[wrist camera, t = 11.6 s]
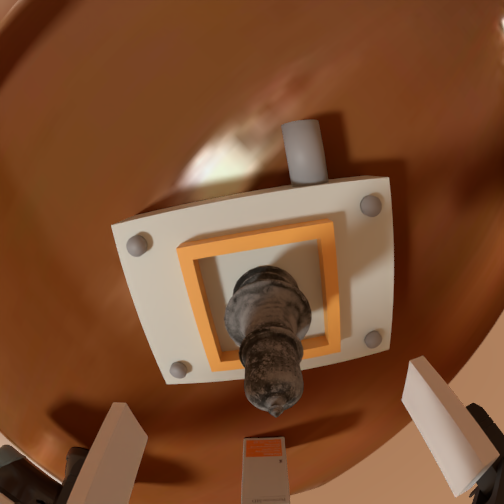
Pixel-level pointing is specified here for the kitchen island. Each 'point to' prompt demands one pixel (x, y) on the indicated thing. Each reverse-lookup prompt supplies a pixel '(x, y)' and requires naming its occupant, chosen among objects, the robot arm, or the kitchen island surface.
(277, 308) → the chess piece
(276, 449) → the skincare box
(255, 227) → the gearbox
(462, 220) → the kitchen island surface
